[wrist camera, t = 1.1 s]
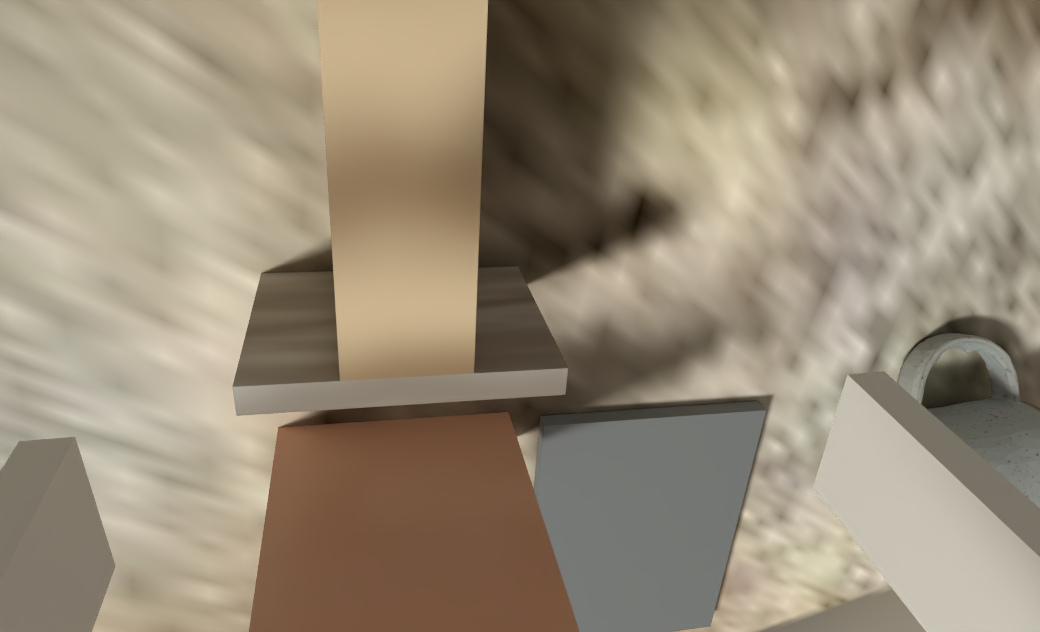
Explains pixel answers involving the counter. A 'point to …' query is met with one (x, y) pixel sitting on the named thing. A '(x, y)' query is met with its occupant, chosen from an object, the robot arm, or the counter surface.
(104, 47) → the counter surface
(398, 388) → the tan rectangular block
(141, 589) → the counter surface
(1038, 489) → the ceramic mug
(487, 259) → the counter surface
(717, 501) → the slate mat
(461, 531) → the terracotta tile
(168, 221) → the counter surface
